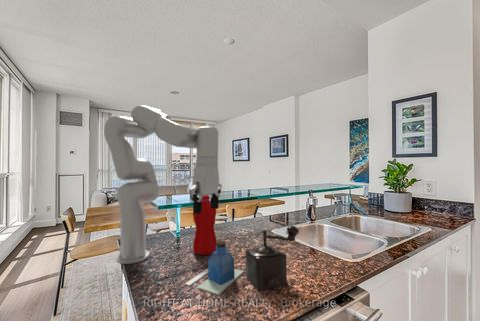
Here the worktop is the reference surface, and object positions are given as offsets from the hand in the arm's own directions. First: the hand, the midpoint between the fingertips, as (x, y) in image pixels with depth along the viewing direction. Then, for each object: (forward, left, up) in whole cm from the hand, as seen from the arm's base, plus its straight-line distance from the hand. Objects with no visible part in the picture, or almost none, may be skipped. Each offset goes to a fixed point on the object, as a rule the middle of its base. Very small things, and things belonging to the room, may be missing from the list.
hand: (206, 210), depth 80 cm
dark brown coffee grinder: (+22, +8, -23) cm, 32 cm away
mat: (+7, 0, -22) cm, 23 cm away
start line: (-1, 0, -22) cm, 22 cm away
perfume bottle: (+6, 0, -22) cm, 23 cm away
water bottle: (-14, +17, -23) cm, 31 cm away
